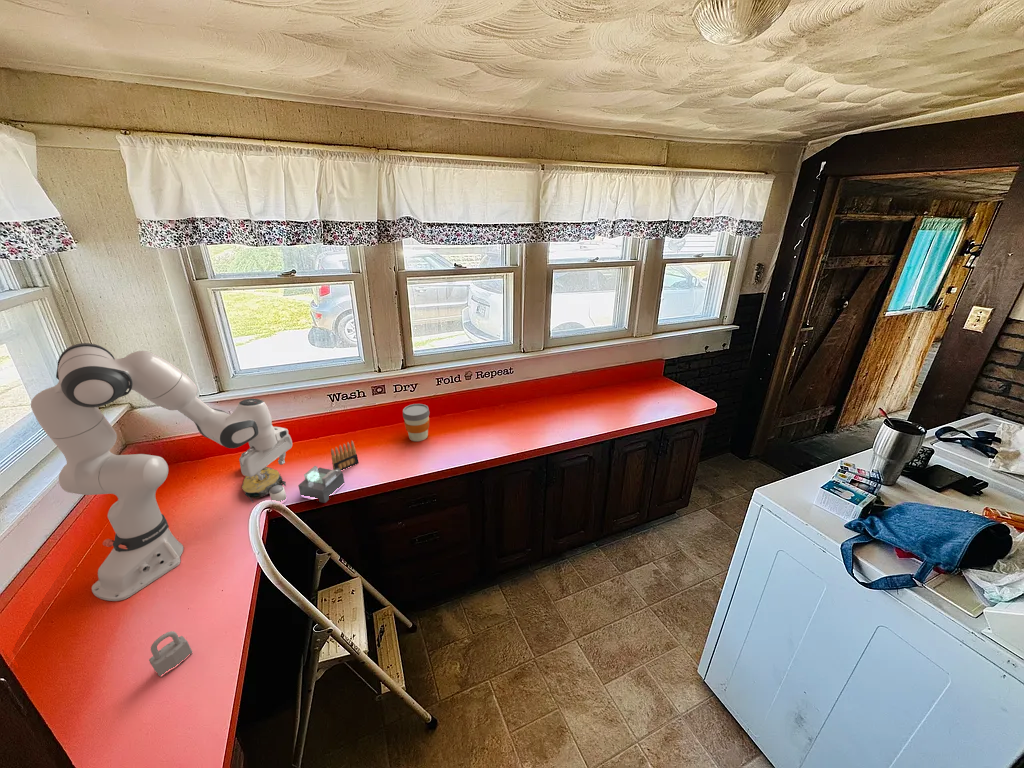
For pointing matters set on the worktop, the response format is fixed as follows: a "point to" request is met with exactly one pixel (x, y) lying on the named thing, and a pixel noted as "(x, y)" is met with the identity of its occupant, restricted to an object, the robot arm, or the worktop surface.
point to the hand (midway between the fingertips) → (272, 471)
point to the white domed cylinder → (277, 493)
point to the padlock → (169, 652)
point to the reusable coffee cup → (416, 421)
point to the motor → (321, 483)
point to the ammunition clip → (344, 457)
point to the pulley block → (261, 483)
